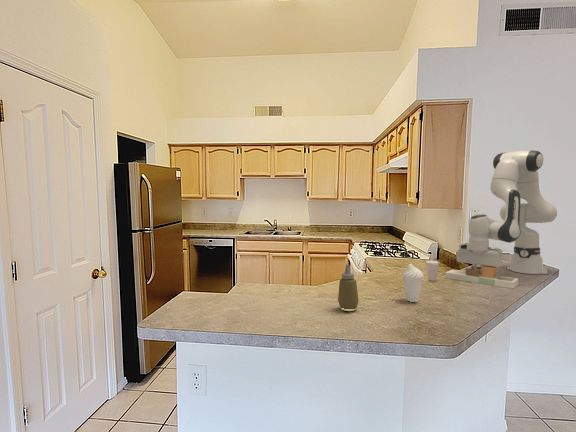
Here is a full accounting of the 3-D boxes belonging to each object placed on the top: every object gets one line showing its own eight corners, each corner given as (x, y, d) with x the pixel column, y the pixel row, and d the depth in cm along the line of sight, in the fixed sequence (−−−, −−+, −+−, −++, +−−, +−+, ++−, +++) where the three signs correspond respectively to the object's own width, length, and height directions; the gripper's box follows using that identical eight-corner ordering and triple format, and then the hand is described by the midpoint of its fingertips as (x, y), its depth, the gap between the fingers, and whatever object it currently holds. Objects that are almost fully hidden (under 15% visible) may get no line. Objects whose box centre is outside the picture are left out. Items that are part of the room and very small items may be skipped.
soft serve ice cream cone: (423, 299, 134) (423, 262, 133) (423, 305, 126) (422, 266, 126) (403, 297, 137) (402, 261, 137) (401, 303, 130) (400, 265, 129)
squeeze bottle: (359, 307, 126) (359, 263, 125) (357, 314, 118) (356, 267, 118) (339, 305, 129) (339, 262, 128) (336, 312, 121) (335, 266, 120)
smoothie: (436, 278, 168) (436, 252, 167) (441, 281, 162) (441, 254, 161) (424, 278, 169) (424, 252, 168) (428, 281, 162) (428, 254, 162)
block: (485, 274, 161) (485, 265, 161) (496, 276, 157) (496, 266, 157) (481, 276, 158) (482, 266, 157) (493, 278, 154) (493, 268, 154)
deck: (452, 274, 176) (452, 263, 175) (518, 284, 153) (518, 271, 153) (445, 277, 169) (445, 266, 169) (513, 288, 146) (513, 275, 146)
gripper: (504, 247, 155) (503, 275, 156) (460, 243, 170) (459, 269, 171) (500, 249, 151) (500, 277, 151) (455, 245, 166) (455, 270, 167)
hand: (478, 272), depth 161 cm, fingers closed
